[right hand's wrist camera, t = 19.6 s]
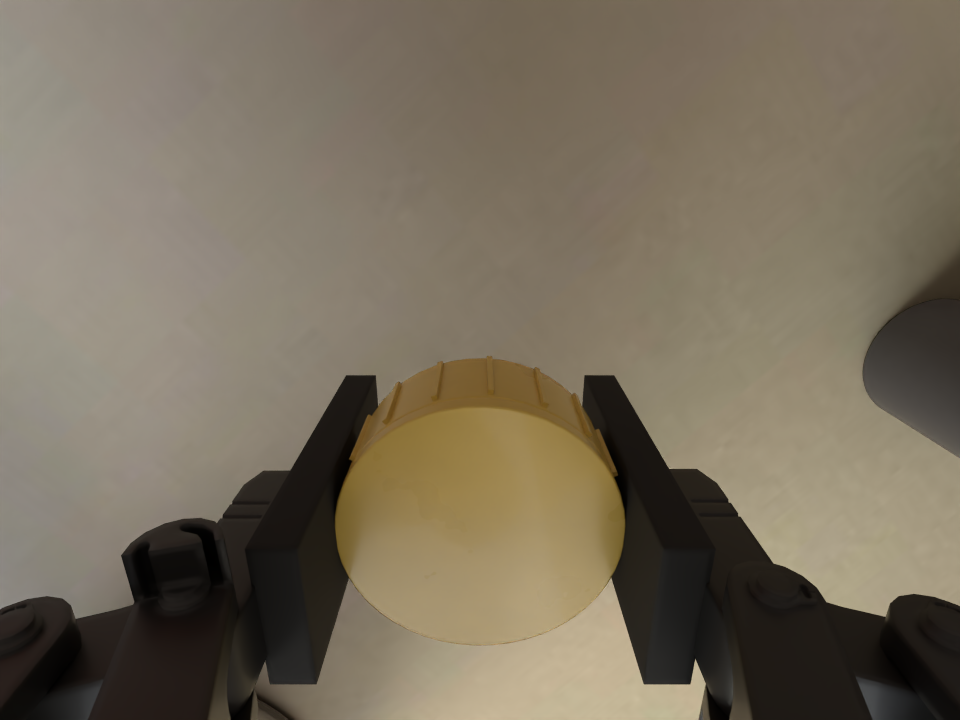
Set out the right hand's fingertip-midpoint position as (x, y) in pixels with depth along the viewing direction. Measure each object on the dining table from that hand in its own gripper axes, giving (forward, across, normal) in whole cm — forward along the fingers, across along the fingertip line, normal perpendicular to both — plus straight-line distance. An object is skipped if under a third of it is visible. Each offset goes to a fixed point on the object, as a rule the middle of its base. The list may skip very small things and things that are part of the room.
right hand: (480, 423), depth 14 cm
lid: (-4, 0, 0) cm, 4 cm away
